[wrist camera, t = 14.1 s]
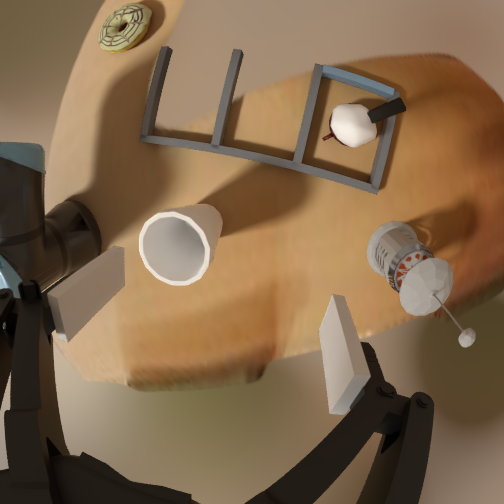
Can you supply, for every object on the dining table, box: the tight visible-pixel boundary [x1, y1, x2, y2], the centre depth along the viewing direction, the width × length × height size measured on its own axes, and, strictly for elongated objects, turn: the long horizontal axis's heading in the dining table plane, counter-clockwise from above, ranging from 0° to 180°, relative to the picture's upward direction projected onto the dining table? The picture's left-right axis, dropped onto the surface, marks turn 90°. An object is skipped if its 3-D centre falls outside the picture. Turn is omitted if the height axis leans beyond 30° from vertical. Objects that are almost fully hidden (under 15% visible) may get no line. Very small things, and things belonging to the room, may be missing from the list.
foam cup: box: [139, 203, 223, 285], centre depth 38 cm, size 10×9×13 cm
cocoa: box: [322, 97, 406, 148], centre depth 30 cm, size 10×6×12 cm, turn 98°
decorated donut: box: [98, 3, 152, 53], centre depth 31 cm, size 10×11×4 cm
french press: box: [367, 221, 475, 347], centre depth 30 cm, size 10×12×25 cm
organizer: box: [139, 46, 400, 195], centre depth 35 cm, size 37×17×2 cm, turn 78°
